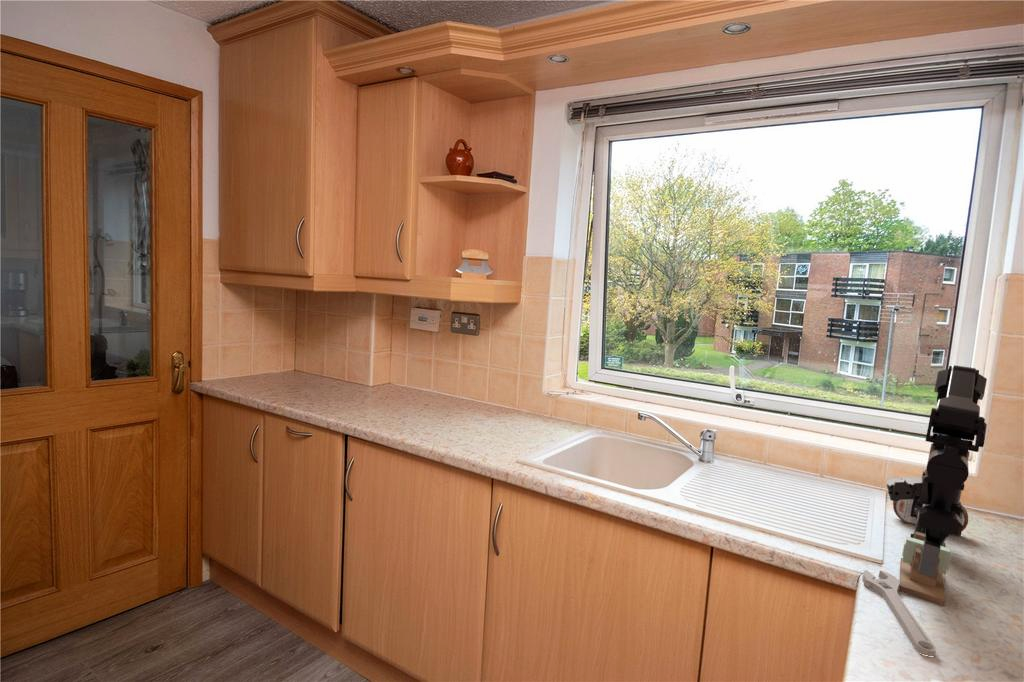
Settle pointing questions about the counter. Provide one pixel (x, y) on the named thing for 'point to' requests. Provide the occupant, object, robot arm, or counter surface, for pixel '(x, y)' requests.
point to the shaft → (929, 558)
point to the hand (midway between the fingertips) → (929, 550)
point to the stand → (921, 579)
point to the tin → (905, 506)
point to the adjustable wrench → (899, 610)
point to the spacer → (912, 543)
